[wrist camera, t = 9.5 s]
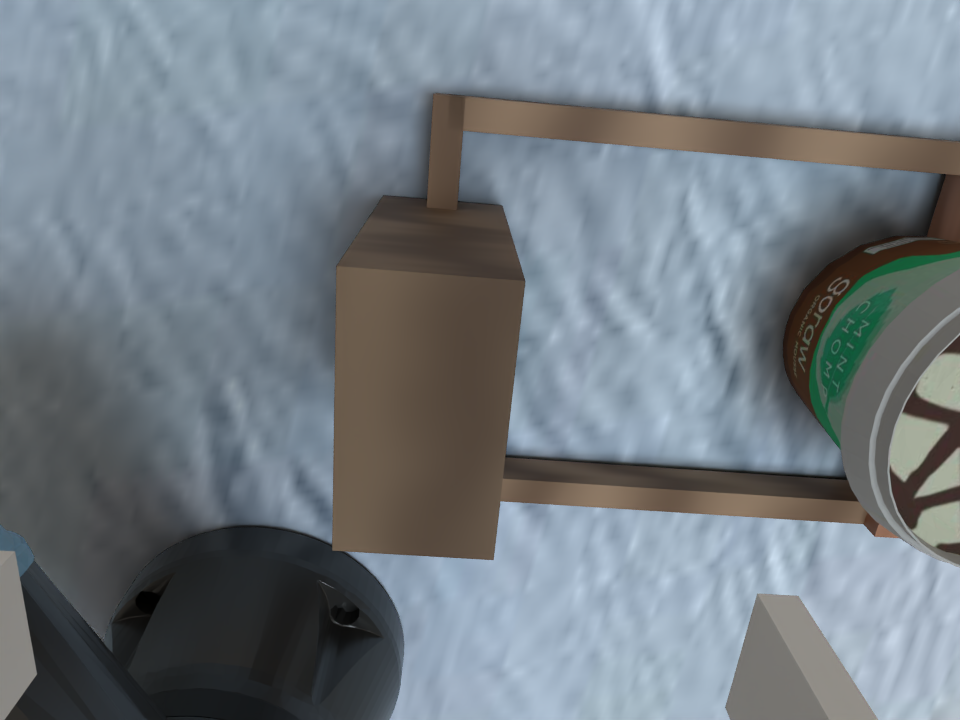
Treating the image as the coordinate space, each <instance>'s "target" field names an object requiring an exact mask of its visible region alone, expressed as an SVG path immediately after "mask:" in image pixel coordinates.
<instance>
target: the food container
mask: <svg viewBox="0 0 960 720" xmlns="http://www.w3.org/2000/svg"><path fill="white" fill-rule="evenodd" d="M783 360H784V365H785V370H786V373H787V376H788V378H789V381H790V383H791V385H792V387H793V388H794V390H795V391H796V393H797V394H798V396H799V397H800V398H801V400H802V401H803V402H804V404H805V405H806V406H807V407H808V409H809V410H810V411H811V413H812V414H813V415H814V416H815V418H816V419H817V420H818V422H819V423H820V424H821V425H822V427H823V428H824V429H825V431H826V432H827V433H828V434H829V436H830V437H831V438H832V440H833V441H834V442H835V443H836V445H837V446H838V447H839V449H840V450H841V454H842V460H843V467H844V471H845V473H846V476H847V479H848V482H849V484H850V487H851V489H852V491H853V493H854V494H855V496H856V497H857V499H858V501H859V502H860V504H861V506H862V507H863V508H864V509H865V510H866V511H867V512H868V513H869V514H870V516H871V517H872V518H873V519H874V520H875V521H876V522H877V523H879V524H880V525H882V526H883V527H884V528H886V529H887V530H889V531H890V532H891V533H893V534H894V535H896V536H897V537H899V538H900V539H902V540H903V541H905V542H907V543H908V544H910V545H911V546H913V547H914V548H916V549H917V550H919V551H921V552H923V553H925V554H927V555H929V556H931V557H933V558H935V559H937V560H940V561H943V562H947V563H950V564H952V565H954V566H957V567H960V242H956V241H950V240H944V239H938V238H932V237H926V236H893V237H889V238H886V239H882V240H878V241H875V242H871V243H867V244H864V245H860V246H858V247H857V248H855V249H853V250H852V251H850V252H848V253H847V254H845V255H843V256H842V257H840V258H838V259H837V260H835V261H833V262H831V263H830V264H828V265H827V266H826V267H825V268H824V269H823V270H822V271H821V272H820V273H819V275H818V276H817V277H816V278H815V279H814V280H813V281H812V282H811V283H810V284H809V285H808V286H807V287H806V288H805V289H804V290H803V292H802V294H801V295H800V297H799V299H798V301H797V302H796V304H795V306H794V308H793V309H792V311H791V313H790V316H789V319H788V322H787V325H786V328H785V334H784V340H783Z"/></svg>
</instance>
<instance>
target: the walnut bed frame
mask: <svg viewBox="0 0 960 720" xmlns="http://www.w3.org/2000/svg"><path fill="white" fill-rule="evenodd" d="M463 131H472V132H483V133H494V134H505V135H516V136H528V137H539V138H550V139H561V140H572V141H583V142H594V143H605V144H617V145H628V146H639V147H650V148H661V149H672V150H683V151H694V152H705V153H717V154H728V155H739V156H750V157H761V158H772V159H783V160H794V161H806V162H817V163H828V164H839V165H850V166H861V167H872V168H883V169H895V170H906V171H917V172H928V173H939V174H946V177H945V180H944V183H943V186H942V189H941V193H940V196H939V199H938V202H937V205H936V208H935V211H934V215H933V218H932V221H931V224H930V227H929V230H928V234H927V237H932V238H938V239H944V240H950V241H956V242H960V141H949V140H938V139H927V138H916V137H906V136H895V135H884V134H873V133H862V132H852V131H841V130H830V129H819V128H808V127H797V126H787V125H776V124H765V123H754V122H743V121H733V120H722V119H711V118H700V117H689V116H679V115H668V114H657V113H646V112H635V111H625V110H614V109H603V108H592V107H581V106H570V105H560V104H549V103H538V102H527V101H516V100H506V99H495V98H484V97H473V96H462V95H452V94H441V93H434V94H433V109H432V126H431V143H430V159H429V176H428V193H427V199H418V198H407V197H395V196H383V197H382V198H381V200H380V201H379V203H378V204H377V206H376V207H375V209H374V210H373V212H372V213H371V215H370V216H369V218H368V219H367V221H366V222H365V224H364V225H363V227H362V228H361V230H360V231H359V233H358V234H357V236H356V237H355V239H354V240H353V242H352V243H351V245H350V246H349V248H348V249H347V251H346V252H345V254H344V255H343V257H342V258H341V260H340V261H339V263H338V264H337V266H336V329H335V397H334V466H333V534H332V551H348V552H365V553H382V554H399V555H416V556H433V557H450V558H467V559H484V560H494V552H495V543H496V534H497V525H498V517H499V508H500V501H505V502H521V503H537V504H553V505H569V506H585V507H601V508H617V509H632V510H648V511H664V512H680V513H696V514H712V515H728V516H744V517H759V518H775V519H791V520H807V521H823V522H839V523H855V524H864V525H865V526H866V527H867V529H868V530H869V531H870V532H871V533H872V534H873V535H874V536H875V537H890V538H899V537H897V536H896V535H894V534H893V533H891V532H890V531H889V530H887V529H886V528H884V527H883V526H882V525H880V524H879V523H877V522H876V521H875V520H874V519H873V518H872V517H871V516H870V514H869V513H868V512H867V511H866V510H865V509H864V508H863V507H862V506H861V504H860V502H859V501H858V499H857V497H856V496H855V494H854V493H853V491H852V489H851V487H850V484H849V482H848V480H838V479H823V478H808V477H793V476H777V475H762V474H747V473H732V472H717V471H702V470H687V469H672V468H657V467H642V466H626V465H611V464H596V463H581V462H566V461H551V460H536V459H521V458H506V457H505V455H506V446H507V438H508V429H509V420H510V411H511V402H512V394H513V385H514V376H515V367H516V358H517V350H518V341H519V332H520V323H521V315H522V306H523V297H524V288H525V278H524V275H523V272H522V269H521V265H520V262H519V259H518V255H517V252H516V249H515V246H514V242H513V239H512V236H511V232H510V229H509V226H508V223H507V219H506V216H505V213H504V209H503V206H501V205H489V204H477V203H466V202H458V191H459V177H460V164H461V151H462V137H463Z"/></svg>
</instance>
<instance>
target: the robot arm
mask: <svg viewBox="0 0 960 720" xmlns="http://www.w3.org/2000/svg"><path fill="white" fill-rule="evenodd" d="M34 557H35V556H34V555H33V554H32V551H31V549H30V547H29V546H28V544H27V543H26V541H25V539H24V538H23V537H22V536H20V535H19V534H17V533H15V532H12V531H7V530H5V529H4V527H3V526H2V525H1V524H0V720H389V719H390V717H391V715H392V713H393V710H394V708H395V705H396V701H397V698H398V695H399V690H400V685H401V675H402V666H403V657H404V638H403V632H402V627H401V623H400V620H399V617H398V614H397V612H396V609H395V607H394V605H393V603H392V602H391V600H390V598H389V596H388V595H387V593H386V592H385V591H384V589H383V588H382V587H381V585H380V584H379V583H378V582H377V580H376V579H375V578H374V577H373V576H372V575H371V574H370V573H369V572H368V571H367V570H365V569H364V568H363V567H362V566H361V565H359V564H358V563H357V562H356V561H354V560H353V559H351V558H350V557H348V556H347V555H346V554H344V553H342V552H340V551H332V547H331V546H329V545H327V544H325V543H323V542H320V541H318V540H315V539H313V538H310V537H307V536H304V535H300V534H297V533H293V532H288V531H284V530H277V529H270V528H256V527H243V528H229V529H222V530H216V531H212V532H207V533H204V534H200V535H197V536H194V537H191V538H189V539H186V540H184V541H182V542H180V543H178V544H176V545H174V546H172V547H170V548H169V549H167V550H165V551H164V552H162V553H161V554H160V555H158V556H157V557H156V558H155V559H153V560H152V561H151V562H150V563H149V564H148V565H147V566H146V567H145V568H144V569H143V570H142V571H141V573H140V574H139V575H138V576H137V578H136V579H135V581H134V582H133V584H132V585H131V587H130V588H129V590H128V591H127V593H126V594H125V596H124V598H123V599H122V601H121V602H120V604H119V605H118V607H117V609H116V611H115V612H114V614H113V616H112V619H111V621H110V623H109V626H108V629H107V632H106V635H105V639H104V643H103V642H102V640H101V639H100V638H99V637H98V636H97V634H96V633H95V632H94V631H93V630H92V629H91V627H90V626H89V625H88V624H87V623H86V621H85V620H84V619H83V618H82V617H81V616H80V614H79V613H78V612H77V611H76V610H75V608H74V607H73V606H72V605H71V604H70V603H69V601H68V600H67V599H66V598H65V597H64V595H63V594H62V593H61V592H60V591H59V590H58V588H57V587H56V586H55V585H54V584H53V582H52V581H51V580H50V579H49V578H48V577H47V575H46V574H45V573H44V572H43V571H42V569H41V568H40V567H39V566H38V565H37V564H36V562H35V561H34ZM725 708H726V710H727V712H728V715H729V717H730V720H878V719H877V717H876V716H875V714H874V712H873V711H872V709H871V708H870V706H869V705H868V703H867V702H866V700H865V699H864V697H863V695H862V694H861V692H860V691H859V689H858V688H857V686H856V685H855V683H854V682H853V680H852V678H851V677H850V675H849V674H848V672H847V671H846V669H845V668H844V666H843V664H842V663H841V661H840V660H839V658H838V657H837V655H836V654H835V652H834V651H833V649H832V647H831V646H830V644H829V643H828V641H827V640H826V638H825V637H824V635H823V634H822V632H821V630H820V629H819V627H818V626H817V624H816V623H815V621H814V620H813V618H812V616H811V615H810V613H809V612H808V610H807V609H806V607H805V606H804V604H803V603H802V601H801V599H800V598H799V596H789V595H772V594H757V597H756V600H755V604H754V607H753V611H752V615H751V618H750V622H749V625H748V629H747V632H746V636H745V639H744V643H743V647H742V650H741V654H740V657H739V661H738V664H737V668H736V671H735V675H734V679H733V682H732V686H731V689H730V693H729V696H728V700H727V703H726V707H725Z"/></svg>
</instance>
